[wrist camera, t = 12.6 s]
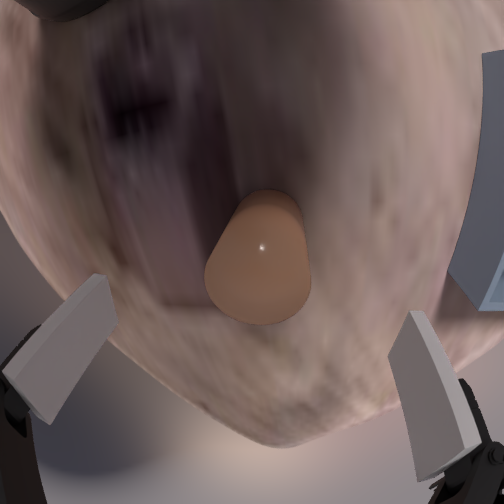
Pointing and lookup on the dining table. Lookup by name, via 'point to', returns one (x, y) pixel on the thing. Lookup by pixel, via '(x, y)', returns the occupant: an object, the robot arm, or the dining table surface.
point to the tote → (485, 202)
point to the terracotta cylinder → (261, 261)
